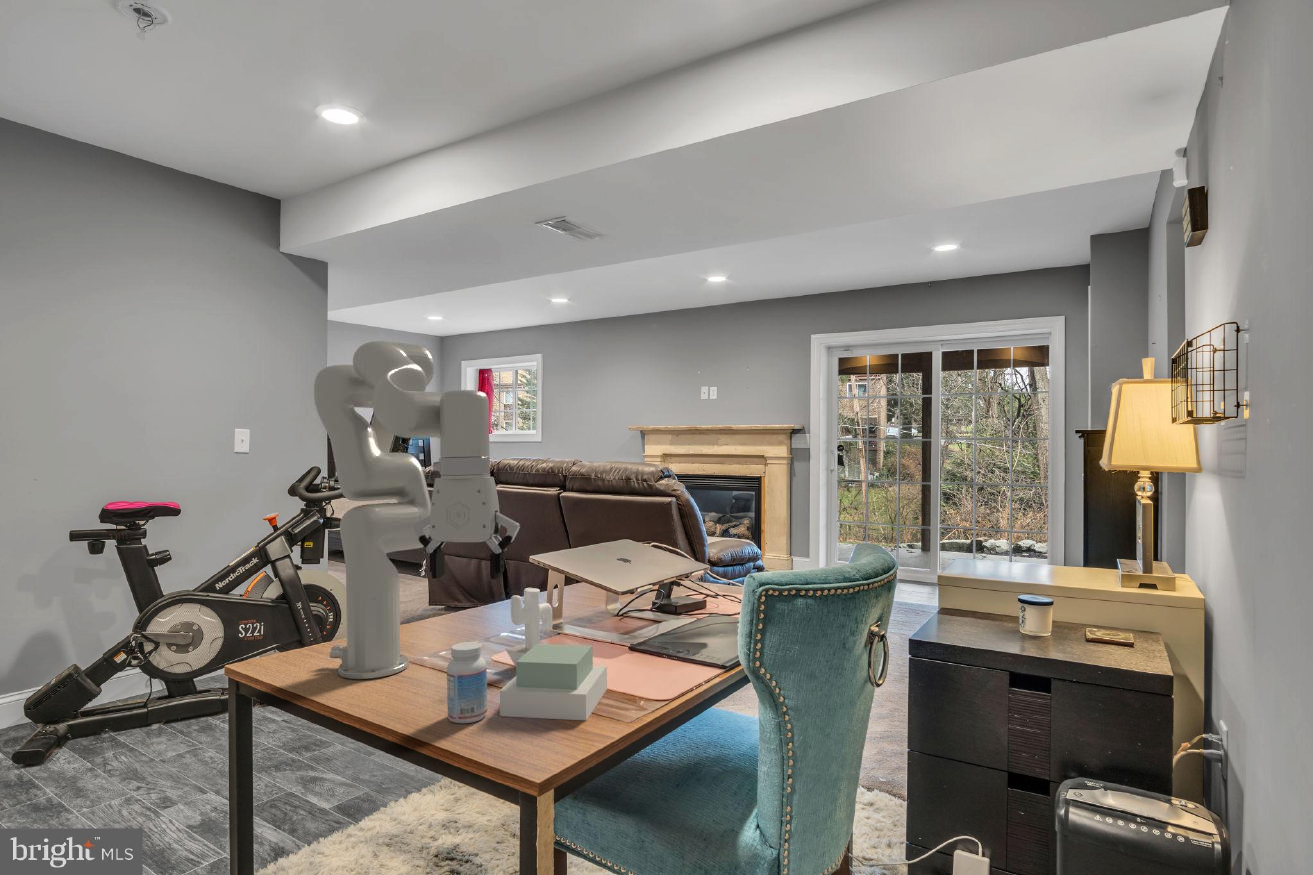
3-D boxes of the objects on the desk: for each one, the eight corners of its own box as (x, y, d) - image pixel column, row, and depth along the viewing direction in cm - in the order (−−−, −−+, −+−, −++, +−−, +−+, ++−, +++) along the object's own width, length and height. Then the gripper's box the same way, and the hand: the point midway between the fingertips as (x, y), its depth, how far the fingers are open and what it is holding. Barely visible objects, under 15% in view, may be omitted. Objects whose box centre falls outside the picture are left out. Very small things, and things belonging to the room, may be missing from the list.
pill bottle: (494, 711, 113) (493, 641, 113) (475, 726, 107) (475, 652, 107) (459, 708, 114) (458, 639, 114) (439, 723, 108) (439, 650, 108)
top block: (516, 686, 112) (516, 661, 112) (536, 666, 122) (536, 643, 122) (577, 689, 111) (576, 663, 111) (592, 669, 120) (592, 645, 120)
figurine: (563, 663, 136) (562, 586, 136) (526, 677, 129) (525, 595, 129) (537, 657, 141) (537, 582, 141) (500, 669, 133) (500, 590, 133)
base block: (500, 715, 110) (499, 690, 111) (530, 685, 124) (529, 662, 124) (586, 720, 108) (586, 694, 108) (607, 688, 122) (606, 665, 122)
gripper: (402, 470, 108) (403, 581, 108) (509, 468, 106) (510, 582, 105) (425, 468, 116) (427, 572, 115) (526, 467, 113) (527, 573, 113)
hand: (467, 577), depth 110 cm, fingers open, 9 cm apart
